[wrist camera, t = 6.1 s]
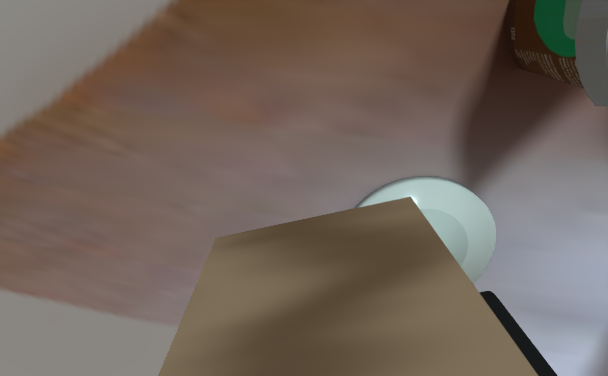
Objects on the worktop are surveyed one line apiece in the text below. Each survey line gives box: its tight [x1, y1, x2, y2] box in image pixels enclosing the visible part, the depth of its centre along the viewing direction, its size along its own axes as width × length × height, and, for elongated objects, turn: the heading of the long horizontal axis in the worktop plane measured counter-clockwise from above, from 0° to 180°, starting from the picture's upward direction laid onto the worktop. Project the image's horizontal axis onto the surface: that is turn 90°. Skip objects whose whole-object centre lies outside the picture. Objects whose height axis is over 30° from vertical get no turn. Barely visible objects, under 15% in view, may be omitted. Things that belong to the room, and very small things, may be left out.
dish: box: [355, 176, 496, 283], centre depth 29 cm, size 14×14×1 cm
